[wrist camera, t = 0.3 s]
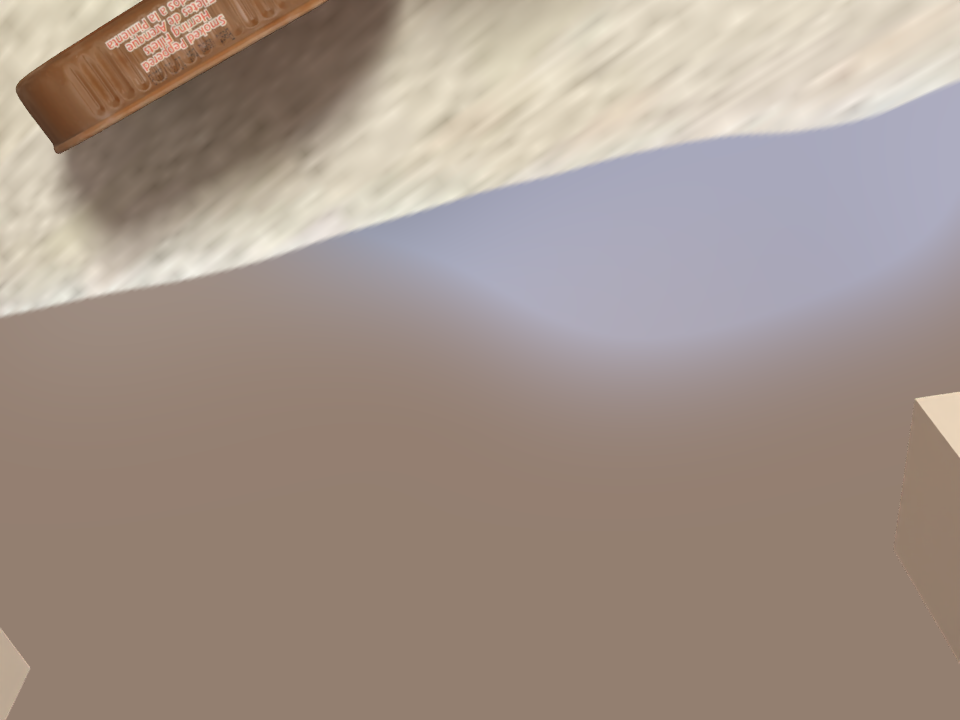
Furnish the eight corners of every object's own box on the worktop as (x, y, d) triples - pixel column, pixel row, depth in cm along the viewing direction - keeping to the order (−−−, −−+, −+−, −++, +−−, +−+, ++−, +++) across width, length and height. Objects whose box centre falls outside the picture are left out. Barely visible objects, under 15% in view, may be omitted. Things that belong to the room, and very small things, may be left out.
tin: (111, 116, 36) (28, 195, 29) (59, 47, 34) (-42, 113, 27) (426, -65, 32) (419, -25, 25) (383, -151, 31) (363, -134, 24)
